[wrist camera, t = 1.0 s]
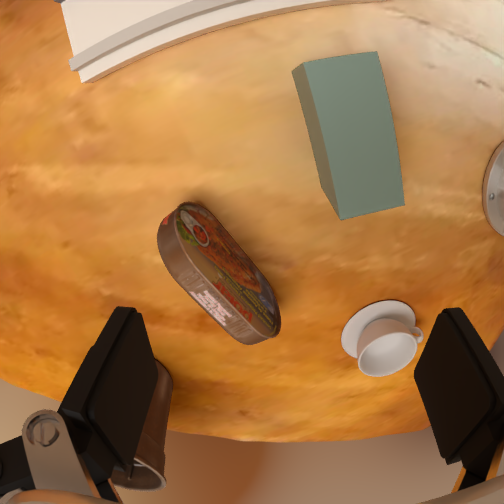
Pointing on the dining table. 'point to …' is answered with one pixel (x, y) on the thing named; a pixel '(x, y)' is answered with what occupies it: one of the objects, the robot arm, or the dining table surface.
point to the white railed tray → (155, 26)
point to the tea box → (351, 132)
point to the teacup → (382, 337)
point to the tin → (218, 274)
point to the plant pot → (150, 442)
